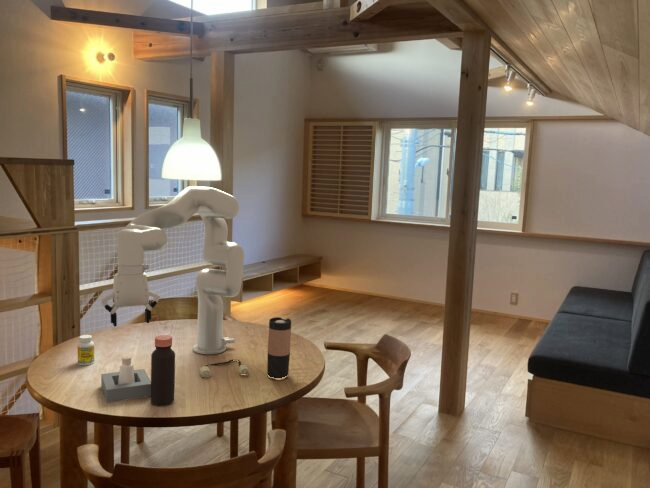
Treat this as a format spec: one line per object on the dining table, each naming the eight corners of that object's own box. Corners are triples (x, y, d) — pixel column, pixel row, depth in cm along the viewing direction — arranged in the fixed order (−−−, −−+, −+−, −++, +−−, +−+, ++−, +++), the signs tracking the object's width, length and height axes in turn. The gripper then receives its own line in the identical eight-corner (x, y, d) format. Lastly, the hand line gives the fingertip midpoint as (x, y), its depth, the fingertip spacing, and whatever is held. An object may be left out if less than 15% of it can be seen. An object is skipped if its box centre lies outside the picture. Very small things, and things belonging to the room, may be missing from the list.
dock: (144, 380, 180) (144, 368, 179) (151, 396, 169) (152, 383, 168) (101, 386, 174) (101, 374, 173) (106, 402, 162) (106, 389, 162)
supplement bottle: (92, 359, 196) (92, 333, 194) (95, 364, 191) (95, 337, 190) (76, 361, 193) (76, 335, 191) (79, 366, 188) (78, 339, 187)
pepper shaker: (117, 395, 168) (117, 360, 166) (116, 388, 173) (116, 354, 171) (136, 393, 170) (136, 359, 168) (134, 386, 175) (135, 353, 173)
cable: (197, 364, 199) (197, 354, 198) (242, 361, 203) (242, 352, 203) (200, 380, 184) (200, 370, 183) (249, 377, 189) (249, 368, 188)
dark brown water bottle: (145, 403, 163) (146, 338, 161) (160, 395, 170) (161, 332, 167) (164, 408, 161) (165, 342, 158) (178, 399, 167) (180, 336, 165)
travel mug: (271, 381, 185) (274, 324, 182) (263, 373, 192) (265, 318, 189) (292, 379, 189) (295, 322, 186) (283, 371, 195) (286, 316, 192)
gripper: (157, 265, 175) (157, 317, 178) (98, 268, 167) (99, 322, 170) (162, 270, 169) (162, 324, 172) (102, 273, 161) (102, 330, 163)
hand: (131, 323), depth 171 cm, fingers open, 9 cm apart
